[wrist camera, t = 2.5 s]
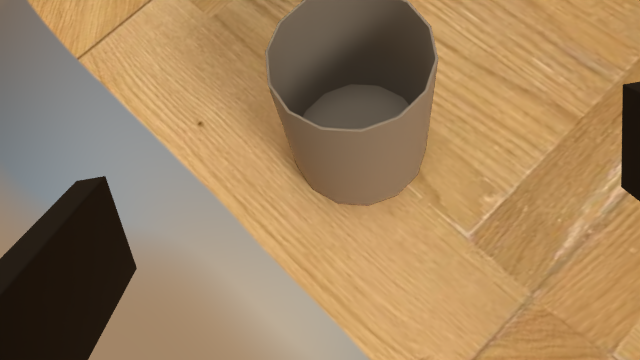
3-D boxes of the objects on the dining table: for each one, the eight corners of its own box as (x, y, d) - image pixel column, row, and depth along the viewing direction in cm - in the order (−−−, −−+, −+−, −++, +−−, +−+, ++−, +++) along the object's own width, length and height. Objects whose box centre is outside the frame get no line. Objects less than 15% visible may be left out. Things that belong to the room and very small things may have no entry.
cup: (360, 232, 35) (349, 166, 26) (268, 149, 38) (230, 63, 29) (452, 139, 37) (473, 46, 28) (358, 66, 40) (349, -41, 31)
